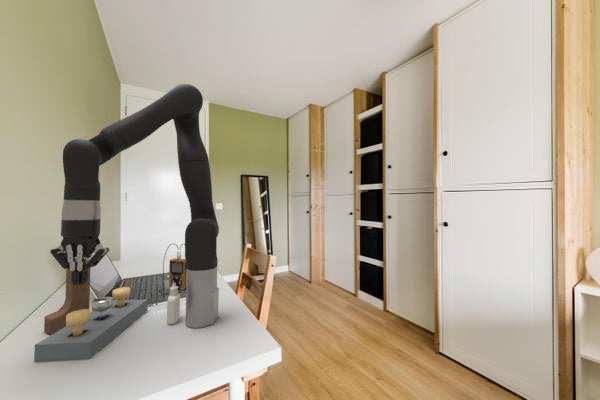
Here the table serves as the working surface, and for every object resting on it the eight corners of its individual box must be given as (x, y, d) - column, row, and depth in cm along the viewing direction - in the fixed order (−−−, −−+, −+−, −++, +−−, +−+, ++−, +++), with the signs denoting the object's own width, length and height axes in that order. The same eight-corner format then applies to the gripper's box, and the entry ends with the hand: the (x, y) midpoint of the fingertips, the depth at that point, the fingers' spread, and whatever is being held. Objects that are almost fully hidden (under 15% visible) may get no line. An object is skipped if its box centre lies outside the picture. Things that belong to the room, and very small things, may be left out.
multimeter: (148, 295, 97) (149, 246, 98) (165, 286, 107) (166, 242, 108) (180, 297, 95) (181, 247, 95) (195, 289, 105) (196, 243, 105)
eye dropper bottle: (185, 317, 78) (186, 281, 79) (172, 325, 73) (173, 286, 73) (174, 315, 79) (175, 279, 80) (160, 324, 74) (161, 285, 74)
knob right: (132, 305, 80) (133, 286, 81) (123, 311, 76) (124, 291, 76) (118, 305, 80) (118, 287, 80) (108, 311, 75) (109, 292, 76)
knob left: (94, 332, 64) (95, 308, 64) (80, 341, 59) (80, 316, 59) (75, 332, 63) (76, 309, 63) (60, 342, 59) (60, 317, 59)
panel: (147, 310, 83) (147, 299, 83) (89, 359, 57) (89, 342, 57) (110, 312, 82) (110, 300, 82) (34, 361, 56) (34, 344, 56)
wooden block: (49, 335, 67) (51, 271, 67) (43, 331, 69) (45, 269, 69) (89, 321, 75) (91, 264, 75) (82, 318, 77) (84, 263, 77)
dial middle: (115, 317, 72) (116, 295, 72) (104, 324, 67) (105, 301, 68) (99, 317, 72) (100, 296, 72) (87, 325, 67) (88, 302, 67)
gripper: (118, 217, 66) (116, 279, 66) (67, 216, 65) (64, 280, 65) (98, 219, 59) (95, 289, 58) (39, 218, 57) (36, 290, 57)
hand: (79, 284), depth 61 cm, fingers closed
